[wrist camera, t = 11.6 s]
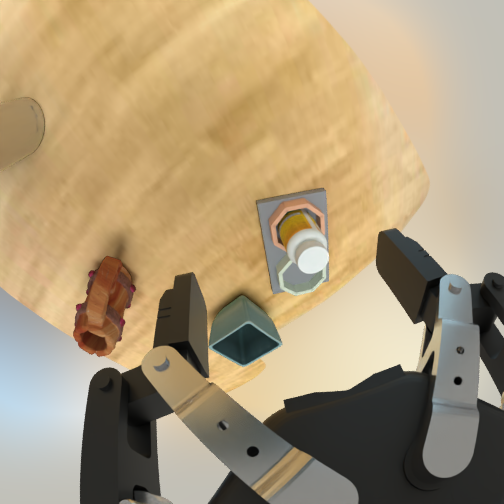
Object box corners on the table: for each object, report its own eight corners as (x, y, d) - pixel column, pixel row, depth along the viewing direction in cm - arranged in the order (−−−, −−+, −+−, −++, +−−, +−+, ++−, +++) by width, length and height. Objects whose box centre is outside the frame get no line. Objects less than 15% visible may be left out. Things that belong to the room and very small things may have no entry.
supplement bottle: (317, 212, 41) (342, 248, 33) (302, 242, 44) (322, 282, 36) (285, 202, 40) (304, 236, 32) (270, 233, 42) (285, 273, 34)
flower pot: (205, 308, 51) (206, 348, 43) (242, 281, 48) (248, 320, 41) (238, 330, 55) (243, 368, 47) (274, 306, 52) (284, 344, 45)
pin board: (272, 289, 50) (275, 302, 47) (256, 200, 40) (259, 210, 38) (326, 276, 50) (332, 288, 47) (323, 187, 41) (331, 196, 38)
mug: (131, 303, 48) (116, 372, 35) (90, 289, 45) (65, 355, 33) (151, 237, 41) (131, 308, 29) (102, 220, 39) (64, 284, 26)
